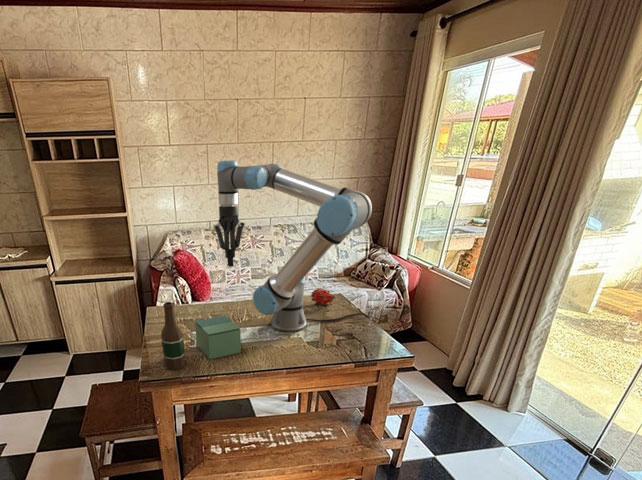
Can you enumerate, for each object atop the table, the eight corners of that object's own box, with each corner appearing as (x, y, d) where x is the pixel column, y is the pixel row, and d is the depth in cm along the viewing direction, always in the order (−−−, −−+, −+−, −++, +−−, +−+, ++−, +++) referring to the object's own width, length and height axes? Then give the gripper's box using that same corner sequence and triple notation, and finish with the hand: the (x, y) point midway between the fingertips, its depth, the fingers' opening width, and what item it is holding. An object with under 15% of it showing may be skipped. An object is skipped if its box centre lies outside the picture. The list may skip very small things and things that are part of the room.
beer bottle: (190, 364, 151) (184, 302, 139) (174, 372, 146) (166, 308, 134) (176, 358, 155) (169, 298, 144) (160, 365, 150) (152, 303, 139)
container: (196, 344, 166) (194, 320, 161) (225, 338, 170) (224, 315, 165) (209, 359, 154) (208, 334, 149) (240, 352, 158) (240, 327, 153)
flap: (194, 321, 161) (194, 320, 161) (224, 316, 165) (224, 315, 165) (201, 328, 155) (201, 327, 155) (232, 322, 159) (232, 321, 159)
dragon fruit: (308, 305, 206) (332, 310, 203) (307, 300, 198) (332, 305, 194) (313, 289, 206) (337, 294, 203) (312, 283, 198) (337, 289, 195)
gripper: (239, 202, 164) (240, 261, 175) (209, 205, 159) (212, 265, 171) (247, 204, 158) (248, 265, 169) (216, 207, 153) (219, 269, 165)
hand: (230, 265), depth 170 cm, fingers closed
